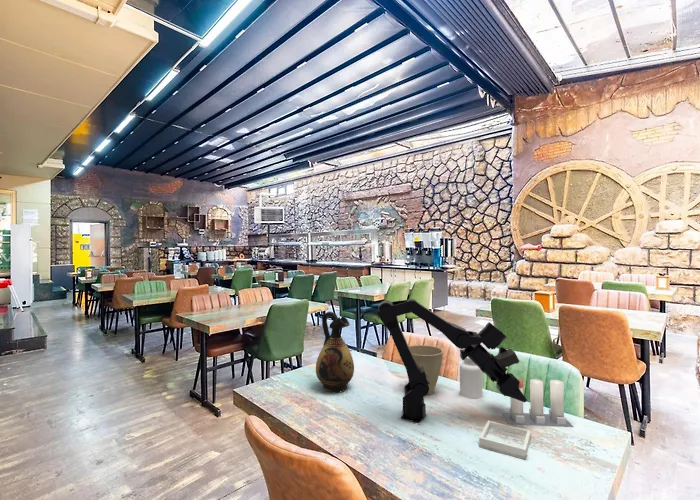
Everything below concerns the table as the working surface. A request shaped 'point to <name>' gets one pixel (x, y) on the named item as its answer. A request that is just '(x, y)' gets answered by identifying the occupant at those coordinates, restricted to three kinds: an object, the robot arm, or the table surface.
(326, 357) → the ceramic jug
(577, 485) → the table surface
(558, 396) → the fuse panel
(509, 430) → the tray
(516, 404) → the white cylinder orange top
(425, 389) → the robot arm
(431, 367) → the plant pot
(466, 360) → the pill bottle
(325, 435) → the table surface
